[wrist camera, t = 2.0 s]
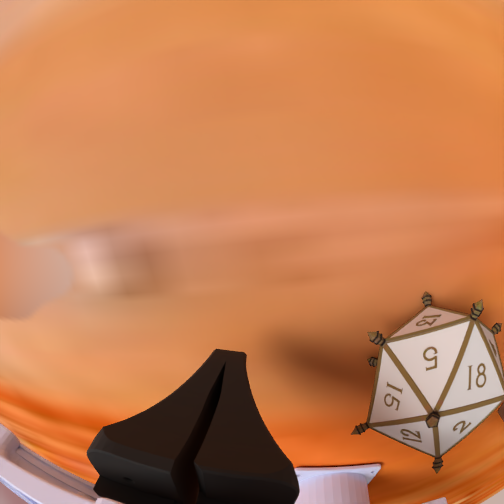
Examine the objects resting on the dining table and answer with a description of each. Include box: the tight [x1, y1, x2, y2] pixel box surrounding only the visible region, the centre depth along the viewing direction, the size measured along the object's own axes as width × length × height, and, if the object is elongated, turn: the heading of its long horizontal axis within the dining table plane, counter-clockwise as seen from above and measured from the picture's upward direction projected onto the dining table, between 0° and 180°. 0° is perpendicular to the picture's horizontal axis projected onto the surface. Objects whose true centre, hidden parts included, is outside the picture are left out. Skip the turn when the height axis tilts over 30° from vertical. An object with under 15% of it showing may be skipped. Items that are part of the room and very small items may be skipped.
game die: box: [351, 291, 504, 473], centre depth 11 cm, size 9×8×10 cm
